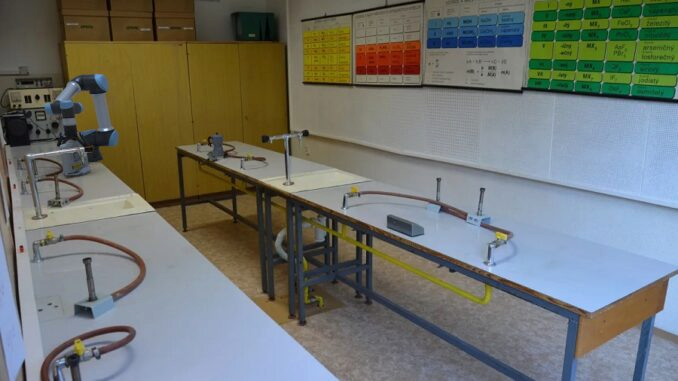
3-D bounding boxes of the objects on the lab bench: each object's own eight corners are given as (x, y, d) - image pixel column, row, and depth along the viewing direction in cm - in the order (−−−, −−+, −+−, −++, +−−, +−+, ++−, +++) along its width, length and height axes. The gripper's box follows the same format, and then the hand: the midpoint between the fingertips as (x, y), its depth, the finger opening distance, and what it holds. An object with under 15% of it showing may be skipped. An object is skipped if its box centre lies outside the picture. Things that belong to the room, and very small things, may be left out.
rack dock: (71, 172, 335) (70, 166, 334) (90, 172, 335) (89, 165, 334) (64, 176, 325) (63, 169, 324) (83, 175, 326) (82, 168, 324)
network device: (80, 168, 342) (75, 139, 337) (93, 168, 342) (88, 139, 337) (60, 176, 317) (55, 145, 312) (74, 176, 317) (69, 145, 312)
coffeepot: (222, 153, 398) (220, 131, 394) (229, 154, 392) (227, 131, 387) (205, 156, 387) (203, 133, 383) (212, 157, 381) (210, 134, 376)
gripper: (47, 125, 319) (52, 158, 324) (86, 124, 319) (90, 157, 324) (53, 124, 326) (59, 156, 331) (91, 123, 326) (96, 155, 331)
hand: (74, 156), depth 327 cm, fingers open, 13 cm apart
